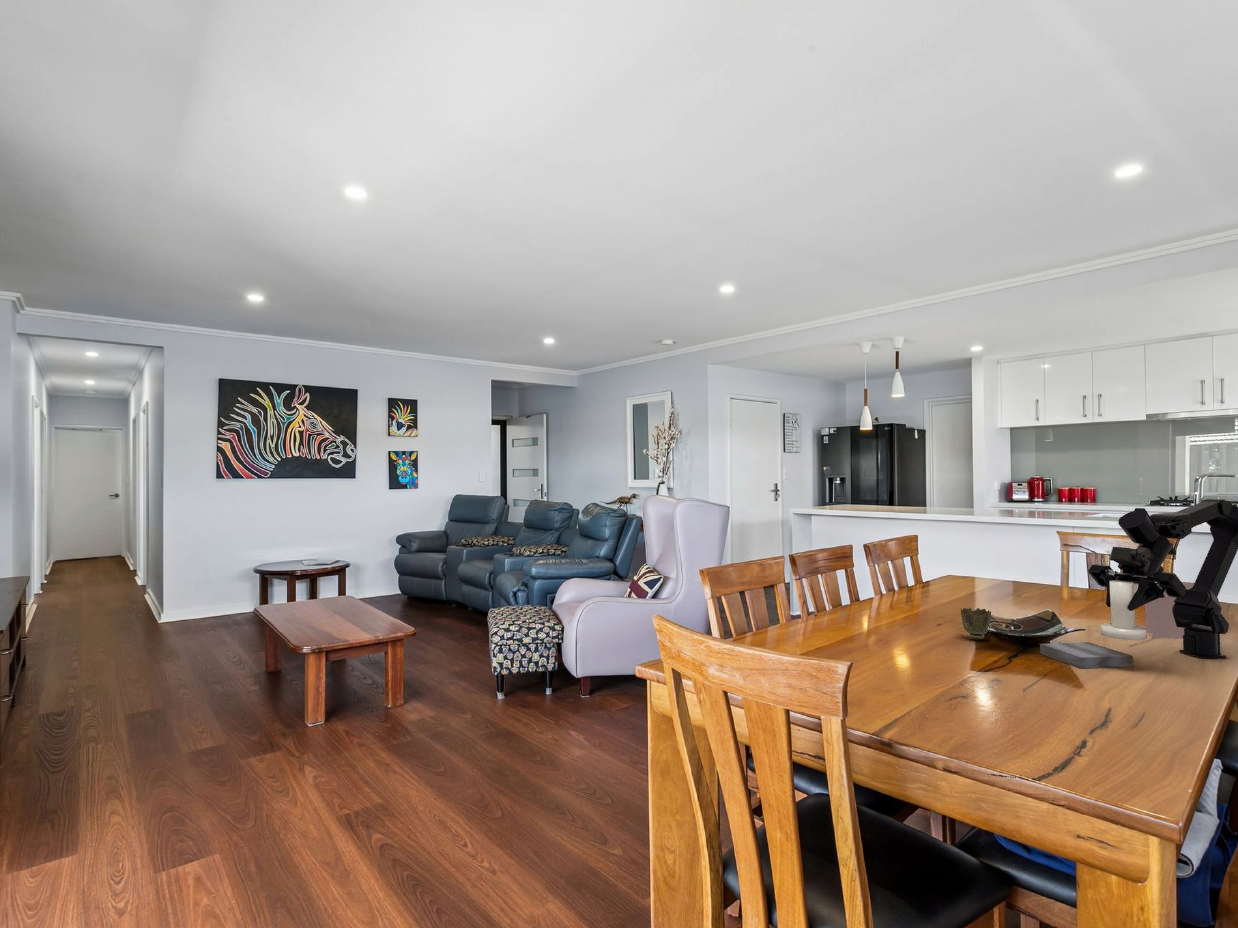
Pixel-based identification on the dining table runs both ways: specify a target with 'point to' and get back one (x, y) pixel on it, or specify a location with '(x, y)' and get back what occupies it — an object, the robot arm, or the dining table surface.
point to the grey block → (1086, 655)
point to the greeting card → (1163, 617)
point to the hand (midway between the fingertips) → (1118, 607)
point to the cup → (976, 622)
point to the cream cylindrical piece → (1122, 614)
